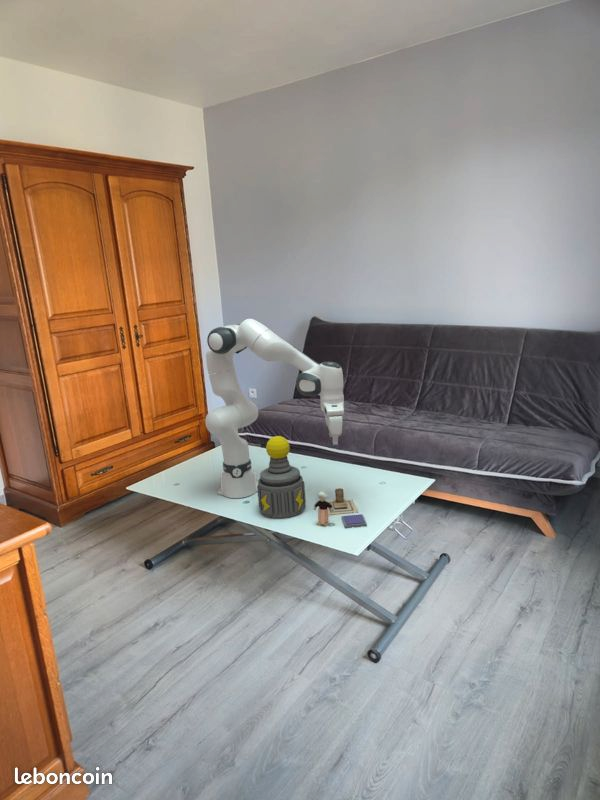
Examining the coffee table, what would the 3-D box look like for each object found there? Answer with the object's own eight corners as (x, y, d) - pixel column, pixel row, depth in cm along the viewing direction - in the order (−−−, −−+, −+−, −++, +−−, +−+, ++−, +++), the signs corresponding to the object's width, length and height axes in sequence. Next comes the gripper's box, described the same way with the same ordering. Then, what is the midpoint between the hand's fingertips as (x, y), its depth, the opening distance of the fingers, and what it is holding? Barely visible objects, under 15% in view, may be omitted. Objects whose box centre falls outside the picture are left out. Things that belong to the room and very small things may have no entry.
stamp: (332, 504, 213) (332, 488, 212) (345, 503, 213) (344, 486, 212) (334, 509, 208) (333, 492, 207) (347, 508, 209) (346, 491, 207)
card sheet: (323, 502, 216) (323, 501, 216) (352, 499, 217) (352, 498, 217) (326, 515, 205) (326, 514, 205) (358, 512, 205) (358, 511, 205)
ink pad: (341, 518, 201) (341, 515, 201) (362, 516, 202) (362, 513, 201) (344, 528, 193) (344, 525, 193) (366, 526, 194) (366, 522, 194)
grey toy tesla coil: (280, 495, 226) (275, 427, 219) (316, 505, 214) (311, 433, 207) (248, 512, 212) (242, 439, 205) (285, 524, 200) (279, 447, 193)
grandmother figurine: (313, 526, 196) (311, 494, 194) (314, 521, 200) (312, 489, 197) (334, 526, 195) (332, 494, 192) (335, 522, 199) (333, 489, 196)
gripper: (320, 399, 212) (322, 432, 215) (327, 412, 192) (328, 449, 195) (336, 398, 212) (337, 431, 216) (344, 411, 192) (345, 448, 196)
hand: (333, 440), depth 205 cm, fingers open, 8 cm apart
